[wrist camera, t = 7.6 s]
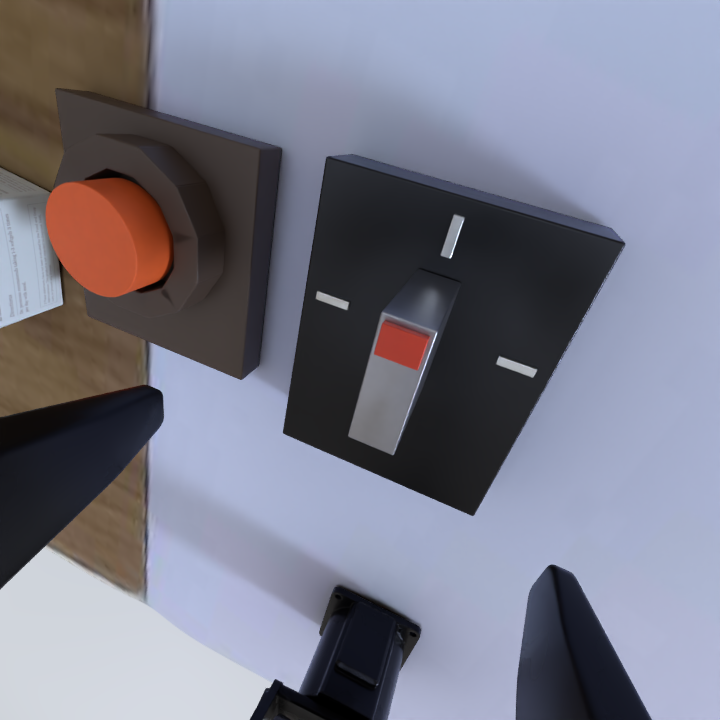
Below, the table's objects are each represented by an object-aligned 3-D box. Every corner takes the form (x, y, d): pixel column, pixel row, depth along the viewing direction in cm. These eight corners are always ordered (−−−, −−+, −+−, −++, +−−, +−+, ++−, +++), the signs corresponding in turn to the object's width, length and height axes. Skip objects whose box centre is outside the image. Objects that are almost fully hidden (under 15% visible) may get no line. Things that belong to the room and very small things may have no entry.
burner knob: (423, 386, 17) (391, 461, 13) (386, 372, 17) (344, 441, 13) (461, 282, 15) (436, 335, 11) (418, 268, 15) (378, 314, 11)
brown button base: (259, 366, 23) (220, 399, 20) (112, 306, 25) (57, 328, 22) (282, 147, 17) (232, 149, 14) (89, 91, 19) (9, 82, 16)
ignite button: (175, 296, 19) (139, 312, 17) (96, 266, 20) (55, 278, 18) (173, 194, 16) (132, 201, 15) (84, 164, 17) (35, 167, 16)
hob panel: (478, 480, 21) (473, 520, 19) (304, 407, 23) (280, 435, 21) (613, 228, 15) (628, 244, 12) (351, 153, 16) (323, 155, 14)
